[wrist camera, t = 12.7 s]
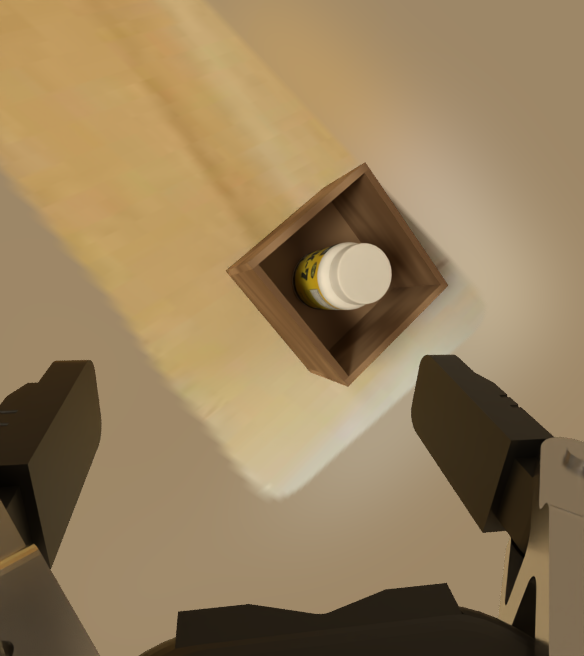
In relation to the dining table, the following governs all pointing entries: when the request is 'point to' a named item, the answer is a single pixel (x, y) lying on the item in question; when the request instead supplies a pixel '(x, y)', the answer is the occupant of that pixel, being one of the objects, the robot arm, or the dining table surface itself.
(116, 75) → the dining table surface
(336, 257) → the supplement bottle
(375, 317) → the wooden box
